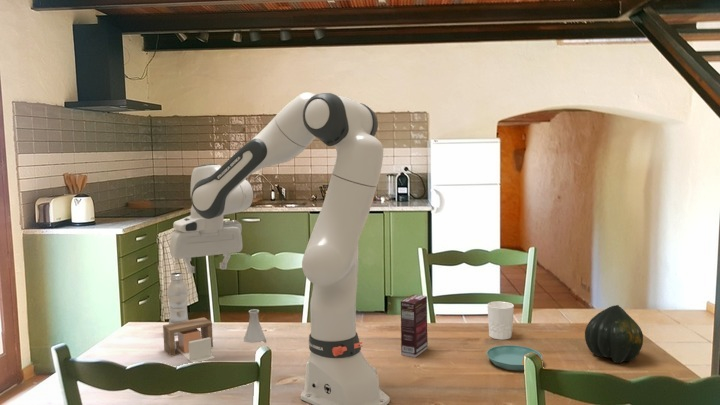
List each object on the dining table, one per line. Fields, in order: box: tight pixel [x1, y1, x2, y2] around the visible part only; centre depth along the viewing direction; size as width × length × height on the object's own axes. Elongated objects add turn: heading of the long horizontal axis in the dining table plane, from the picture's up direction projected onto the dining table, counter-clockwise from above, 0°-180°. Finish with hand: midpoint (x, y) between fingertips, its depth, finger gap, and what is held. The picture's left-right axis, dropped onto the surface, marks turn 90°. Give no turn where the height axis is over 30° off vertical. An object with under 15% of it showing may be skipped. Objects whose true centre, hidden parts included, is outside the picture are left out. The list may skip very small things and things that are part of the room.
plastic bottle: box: [166, 271, 189, 336], centre depth 191 cm, size 6×7×20 cm
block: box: [177, 328, 201, 353], centre depth 176 cm, size 5×5×6 cm
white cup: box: [487, 300, 515, 340], centre depth 187 cm, size 8×8×10 cm
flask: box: [243, 308, 267, 344], centre depth 184 cm, size 7×7×10 cm
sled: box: [175, 337, 216, 363], centre depth 173 cm, size 15×6×6 cm, turn 36°
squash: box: [584, 304, 644, 364], centre depth 168 cm, size 14×15×15 cm
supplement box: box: [400, 294, 429, 358], centre depth 174 cm, size 9×5×16 cm, turn 149°
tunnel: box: [162, 317, 214, 357], centre depth 176 cm, size 6×12×8 cm, turn 126°
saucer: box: [486, 344, 543, 371], centre depth 165 cm, size 15×15×3 cm
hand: (207, 270), depth 169 cm, fingers open, 8 cm apart
